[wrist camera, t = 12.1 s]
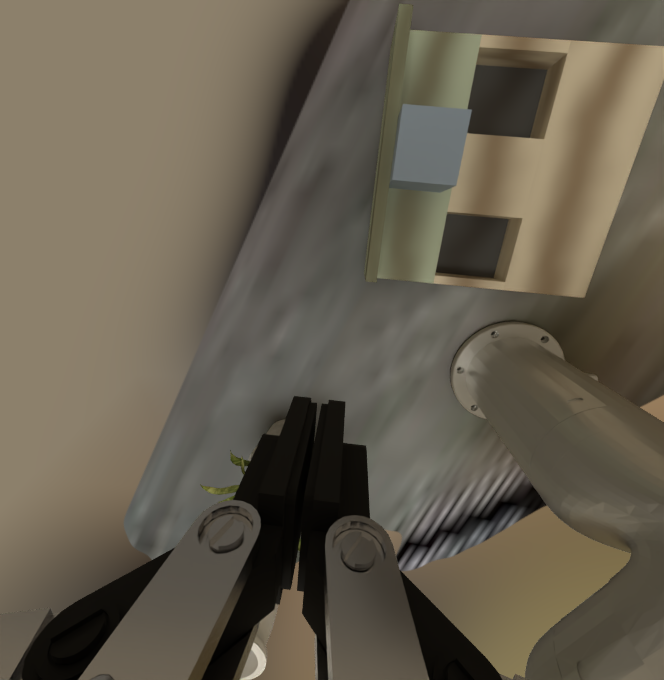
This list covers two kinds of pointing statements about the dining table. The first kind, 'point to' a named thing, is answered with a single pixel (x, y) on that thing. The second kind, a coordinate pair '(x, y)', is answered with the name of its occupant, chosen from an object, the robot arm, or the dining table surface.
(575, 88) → the board
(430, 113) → the block
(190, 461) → the dining table surface
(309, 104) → the dining table surface
